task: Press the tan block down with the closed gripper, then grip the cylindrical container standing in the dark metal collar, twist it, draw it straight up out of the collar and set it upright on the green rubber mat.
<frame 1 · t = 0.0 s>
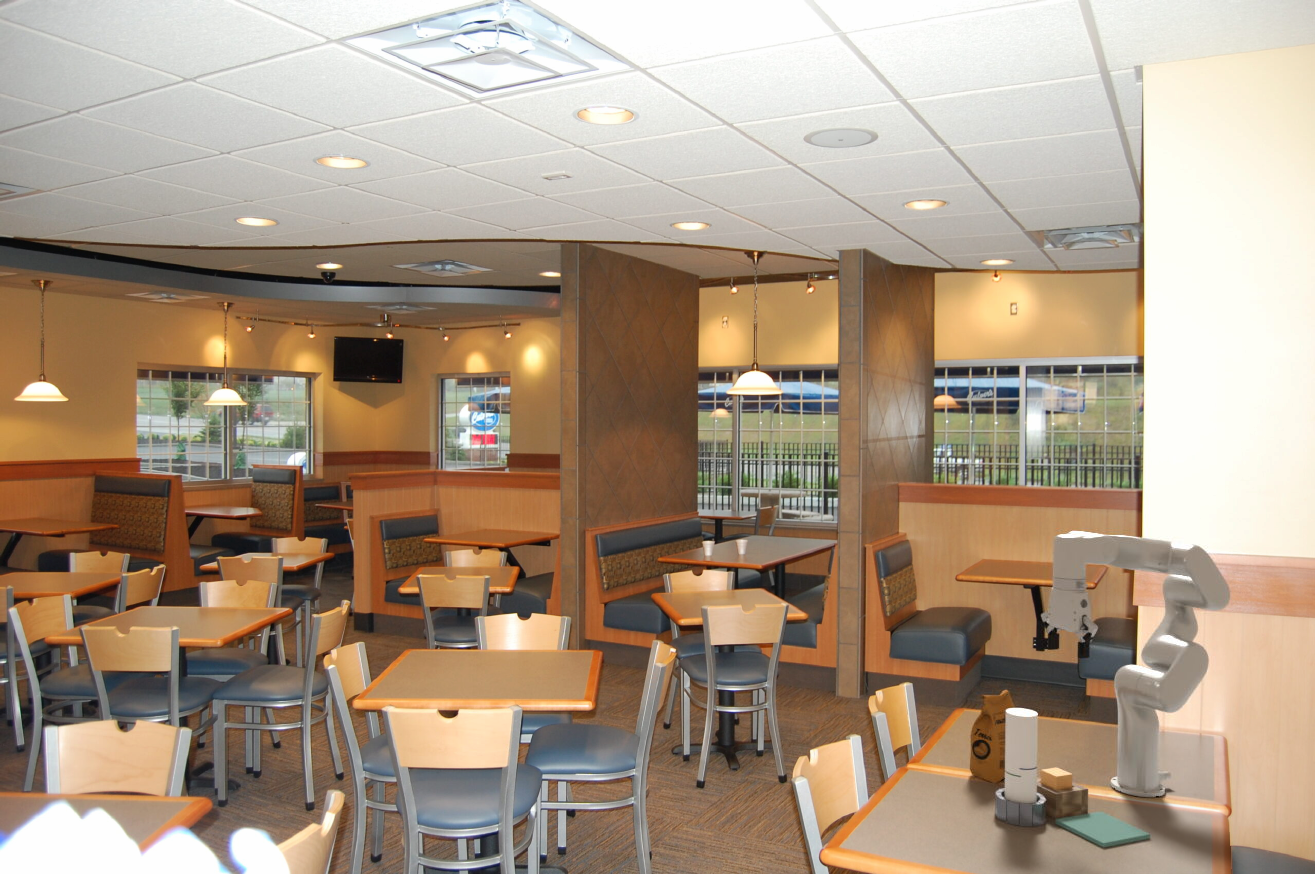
hand: (1068, 653, 242), 37 cm above the table, tool pointing down, fingers open, 9 cm apart
collar: (1020, 816, 232), on the table
plunger housing: (1056, 808, 237), on the table
coffee package: (994, 775, 260), on the table
mat: (1102, 830, 224), on the table
cylindrical container: (1020, 817, 232), resting in collar
tan block: (1056, 783, 237), point 6 cm above the table, slide at 0.0 cm
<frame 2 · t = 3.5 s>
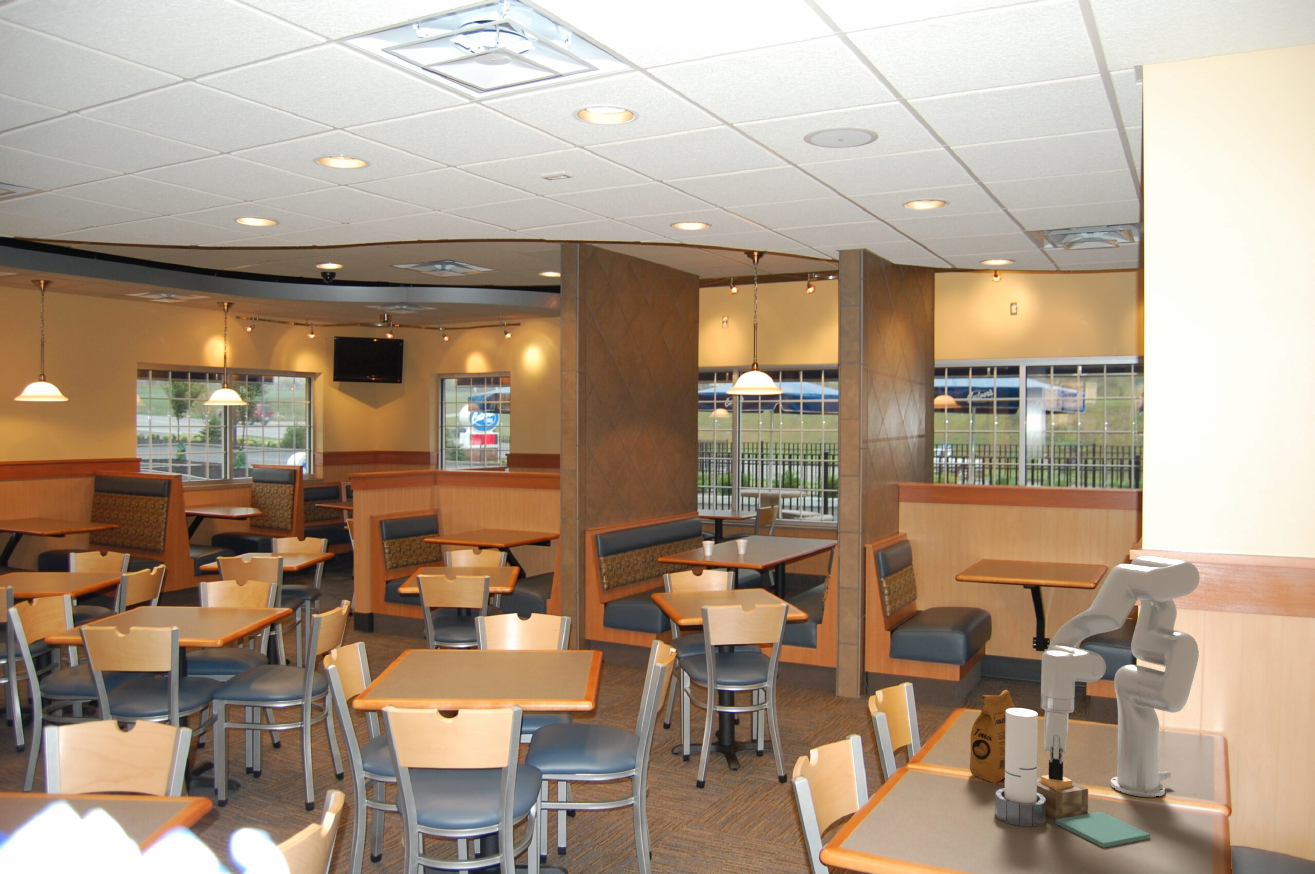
hand: (1055, 778, 237), 8 cm above the table, tool pointing down, fingers closed
tan block: (1056, 789, 237), point 5 cm above the table, slide at 1.5 cm, touching gripper
everything else where it was.
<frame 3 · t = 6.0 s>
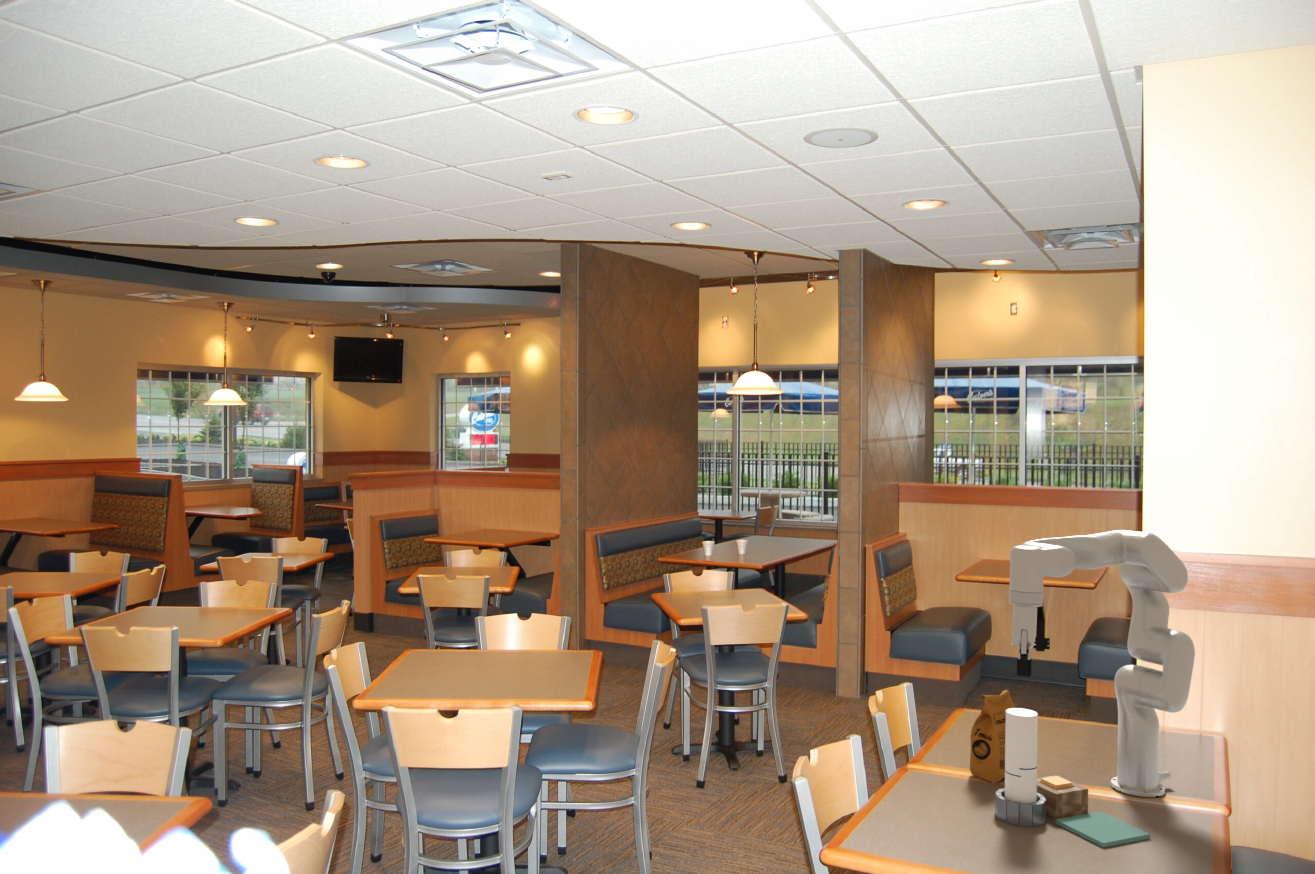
hand: (1023, 675, 232), 34 cm above the table, tool pointing down, fingers closed
tan block: (1056, 791, 237), point 4 cm above the table, slide at 2.1 cm
everything else where it was.
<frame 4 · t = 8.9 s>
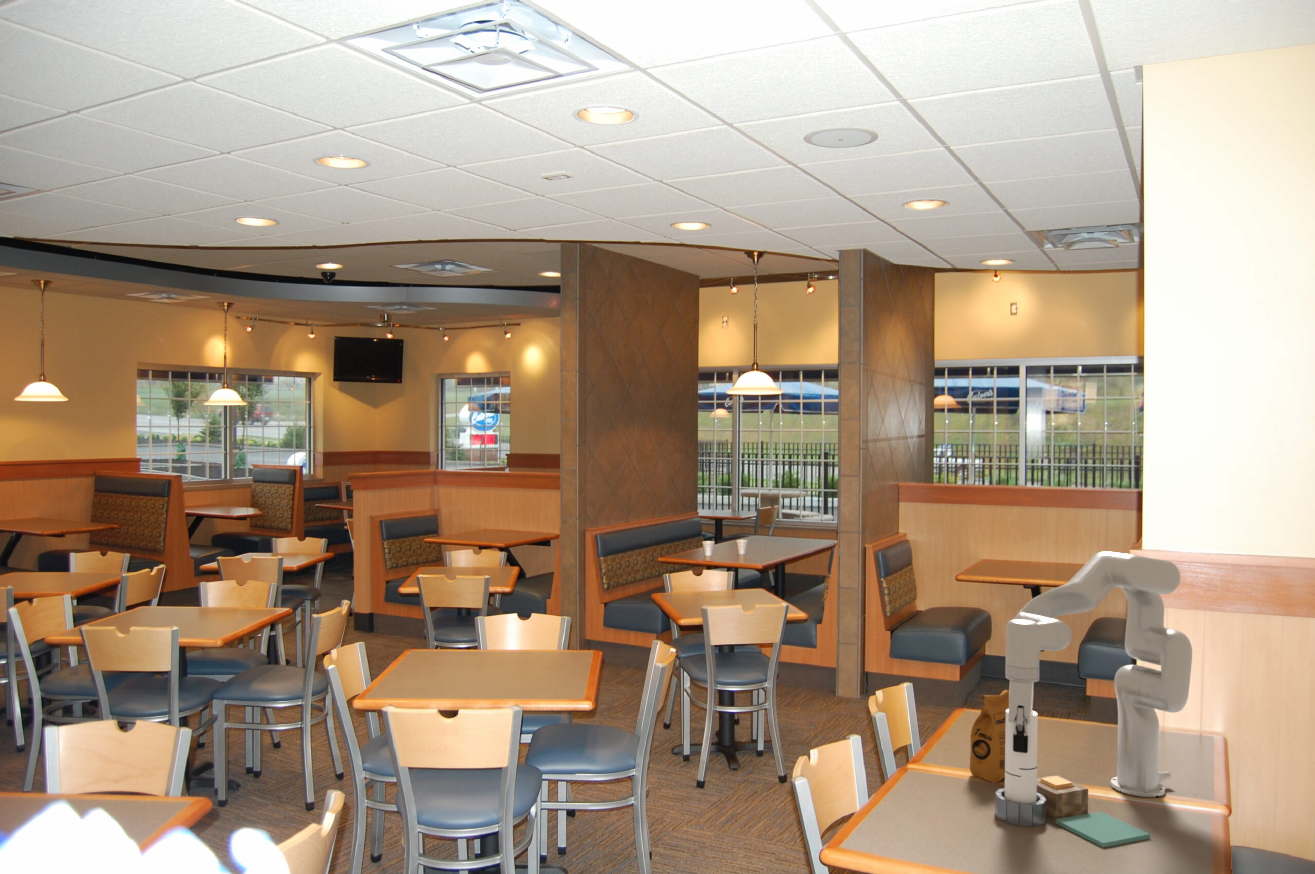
hand: (1021, 746, 232), 17 cm above the table, tool pointing down, fingers closed on cylindrical container, 7 cm apart
cylindrical container: (1020, 817, 232), resting in collar, touching gripper
everything else where it was.
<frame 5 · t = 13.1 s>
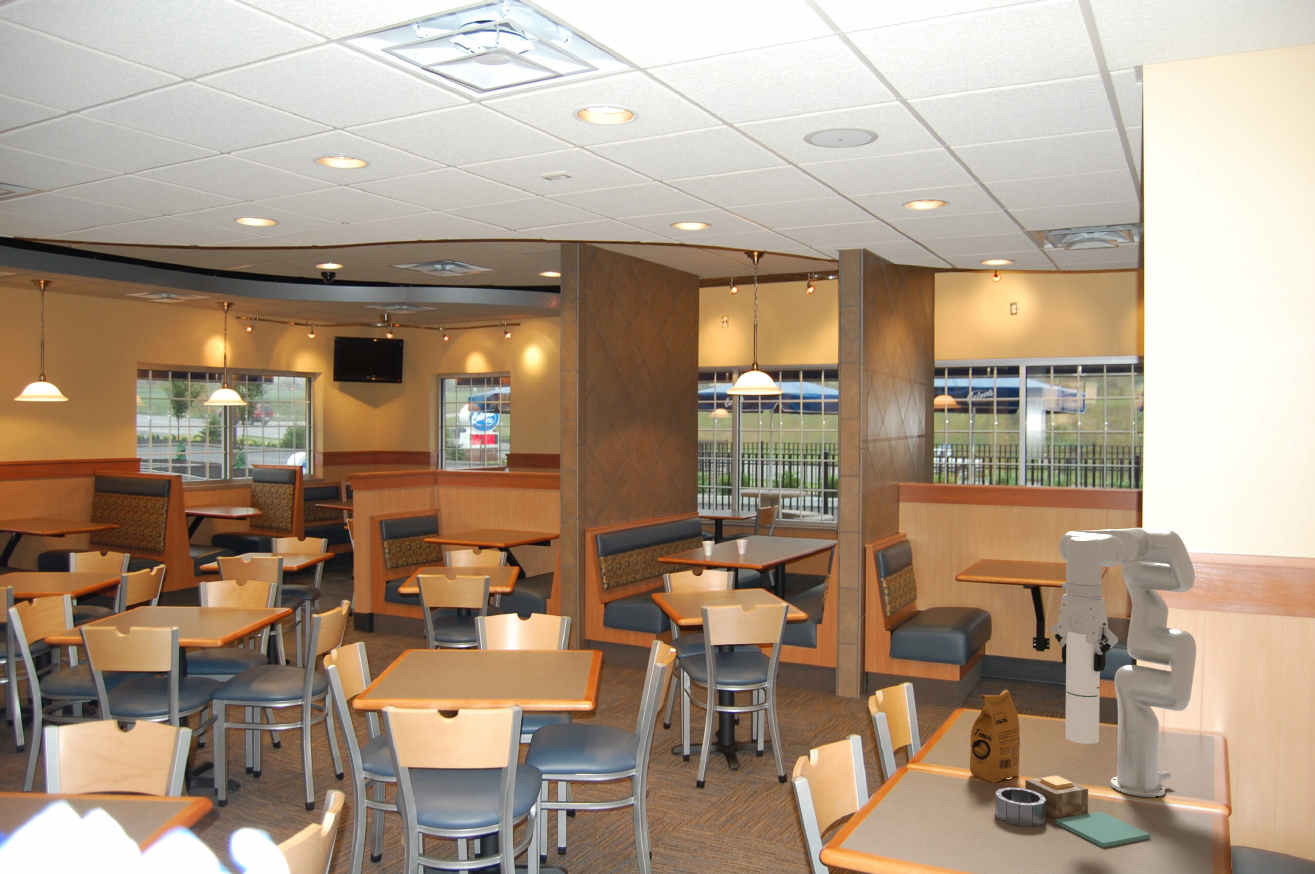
hand: (1083, 666, 226), 37 cm above the table, tool pointing down, fingers closed on cylindrical container, 7 cm apart
cylindrical container: (1082, 739, 226), point 20 cm above the table, touching gripper
everything else where it was.
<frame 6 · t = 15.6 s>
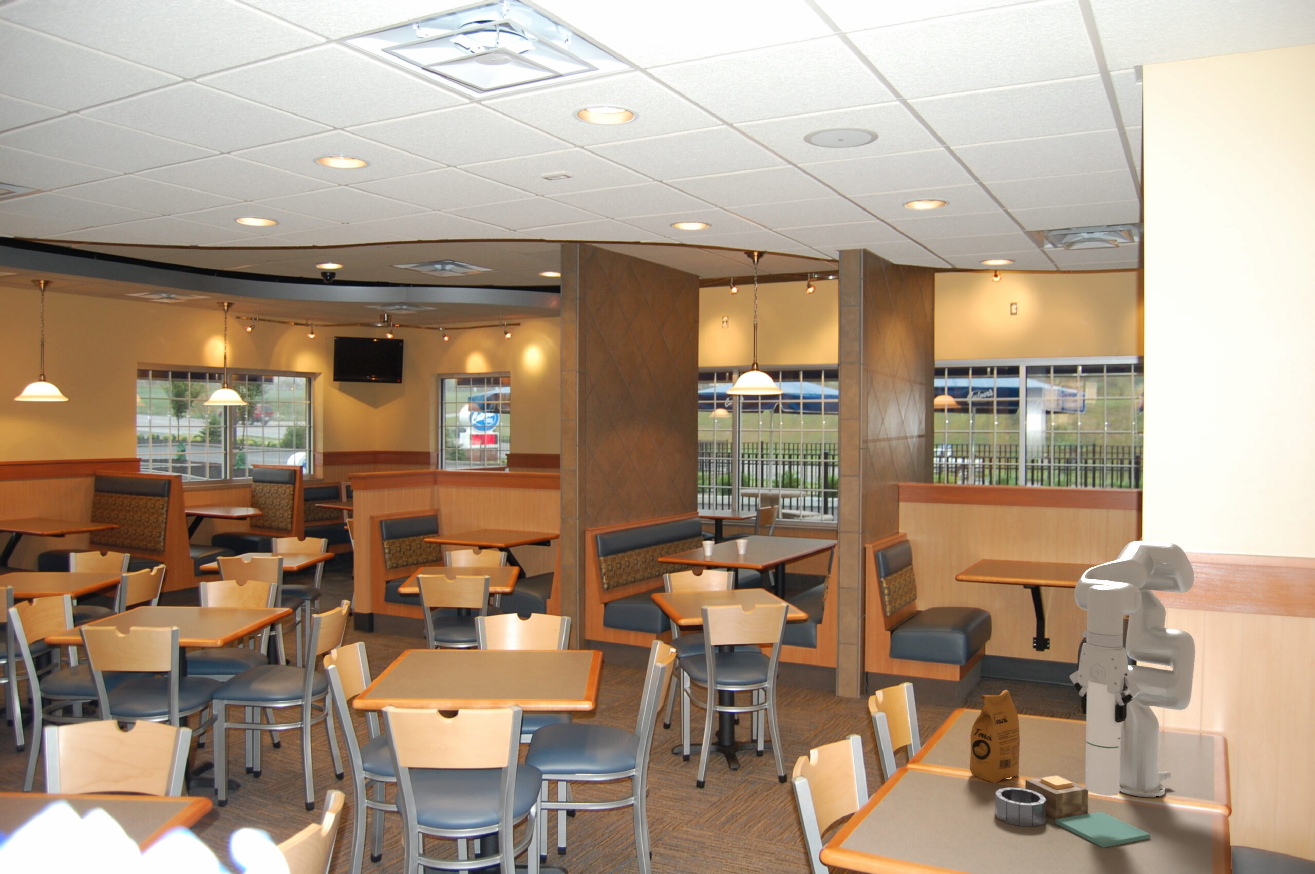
hand: (1103, 716, 224), 26 cm above the table, tool pointing down, fingers closed on cylindrical container, 7 cm apart
cylindrical container: (1102, 790, 224), point 9 cm above the table, touching gripper
everything else where it was.
when the fingers open (19 cm above the table, at t = 17.6 s): cylindrical container drops 1 cm, resting on mat.
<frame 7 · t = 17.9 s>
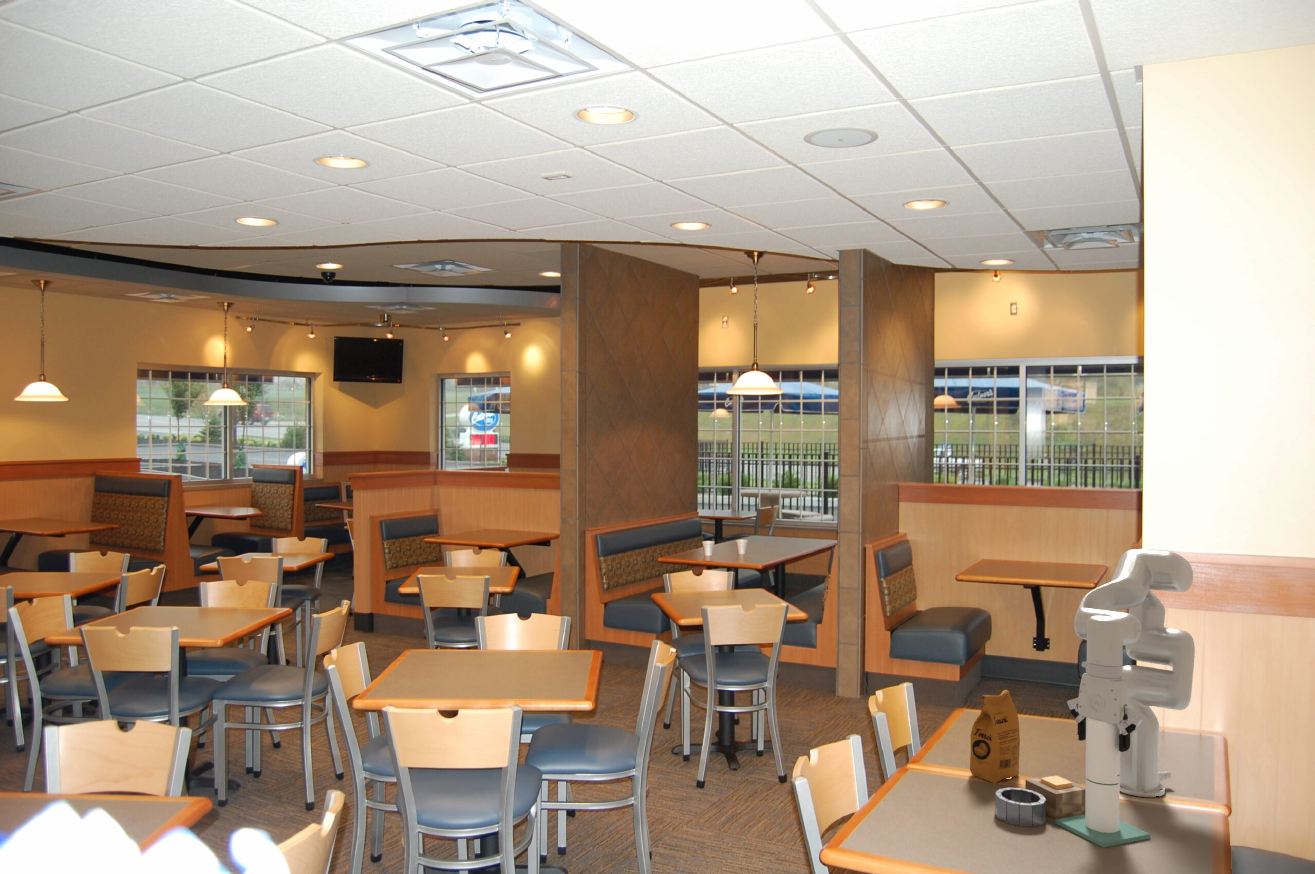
hand: (1103, 744, 224), 20 cm above the table, tool pointing down, fingers open, 9 cm apart
cylindrical container: (1102, 827, 224), point 1 cm above the table, touching mat
everything else where it was.
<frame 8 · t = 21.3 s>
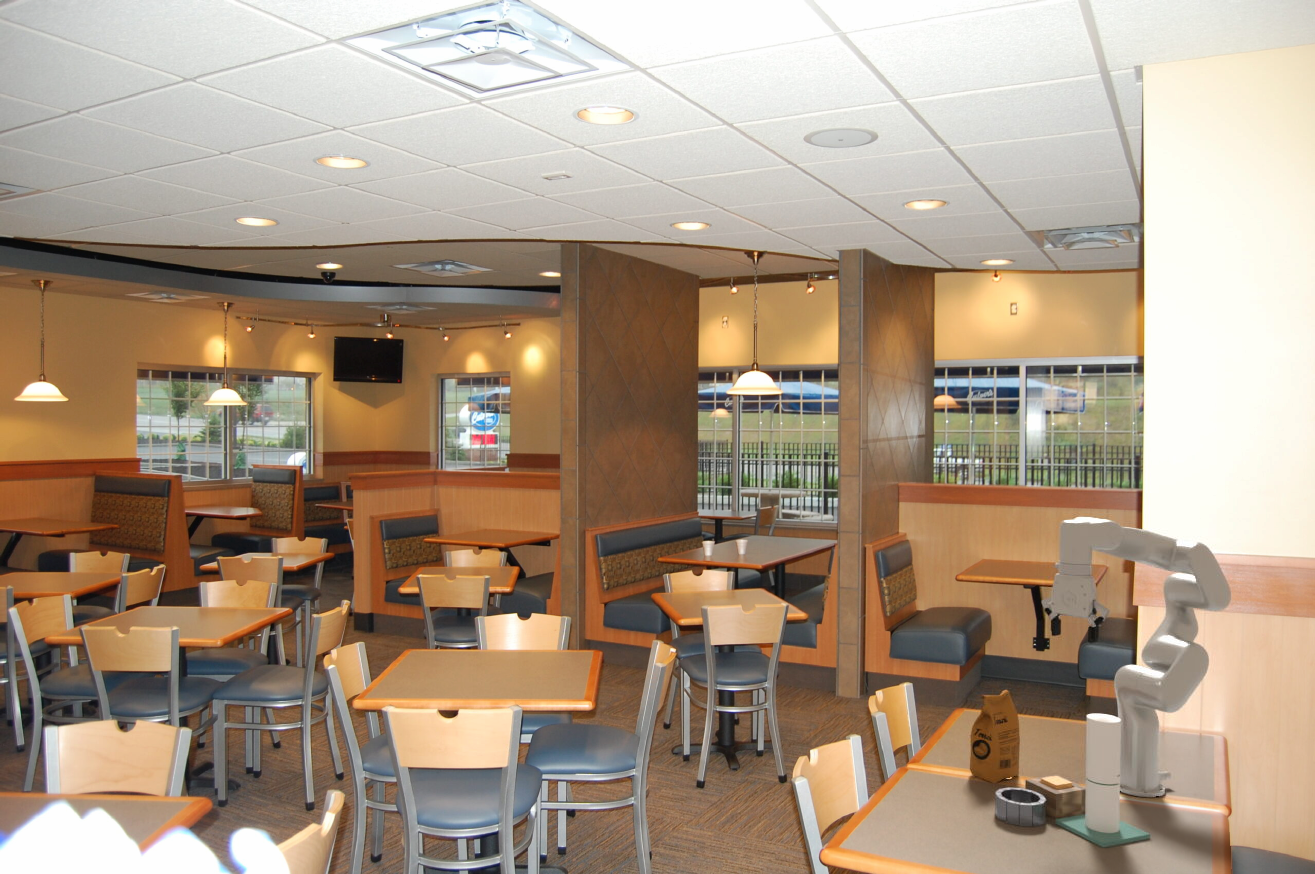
hand: (1074, 638, 243), 40 cm above the table, tool pointing down, fingers open, 9 cm apart
nothing on the table moved.
at the end: cylindrical container inside the target area (0.0 cm from its centre), point 0.8 cm above the table; cylindrical container tilted 0°; tan block slide at 2.1 cm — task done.
